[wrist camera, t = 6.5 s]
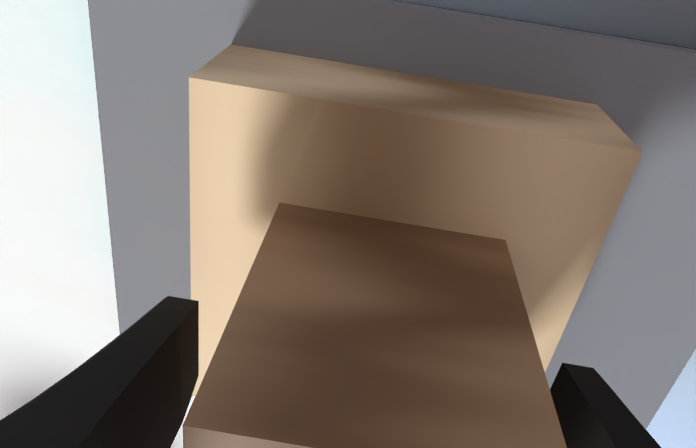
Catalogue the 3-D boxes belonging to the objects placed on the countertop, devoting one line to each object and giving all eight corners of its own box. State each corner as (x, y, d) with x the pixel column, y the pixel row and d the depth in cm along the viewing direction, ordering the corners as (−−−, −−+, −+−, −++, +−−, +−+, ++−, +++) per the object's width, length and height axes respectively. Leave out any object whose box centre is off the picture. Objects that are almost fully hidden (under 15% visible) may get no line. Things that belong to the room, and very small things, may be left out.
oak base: (596, 104, 13) (642, 152, 11) (495, 371, 18) (510, 449, 15) (231, 44, 13) (188, 77, 11) (222, 324, 18) (191, 395, 15)
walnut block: (505, 240, 12) (580, 493, 7) (452, 398, 15) (477, 671, 9) (279, 202, 12) (182, 425, 7) (265, 367, 15) (188, 621, 9)
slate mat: (843, 73, 13) (861, 80, 13) (616, 453, 20) (622, 468, 20) (96, -48, 13) (83, -47, 13) (131, 370, 20) (124, 382, 20)
